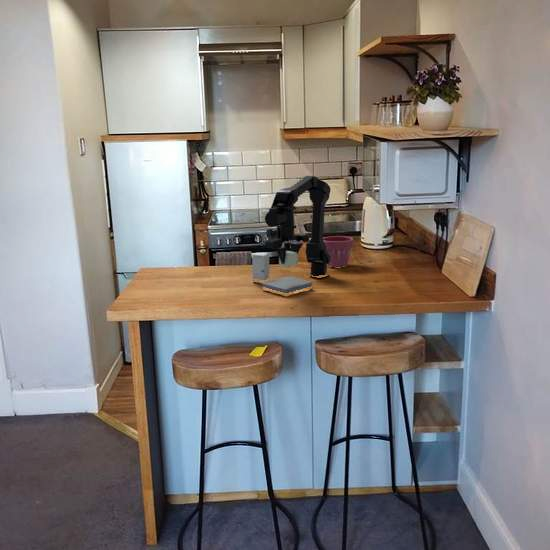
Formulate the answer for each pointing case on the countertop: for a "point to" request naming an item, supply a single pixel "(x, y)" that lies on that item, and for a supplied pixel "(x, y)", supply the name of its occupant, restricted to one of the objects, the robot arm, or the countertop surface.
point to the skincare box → (260, 266)
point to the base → (287, 284)
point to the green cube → (289, 259)
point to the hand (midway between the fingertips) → (288, 262)
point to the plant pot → (338, 250)
